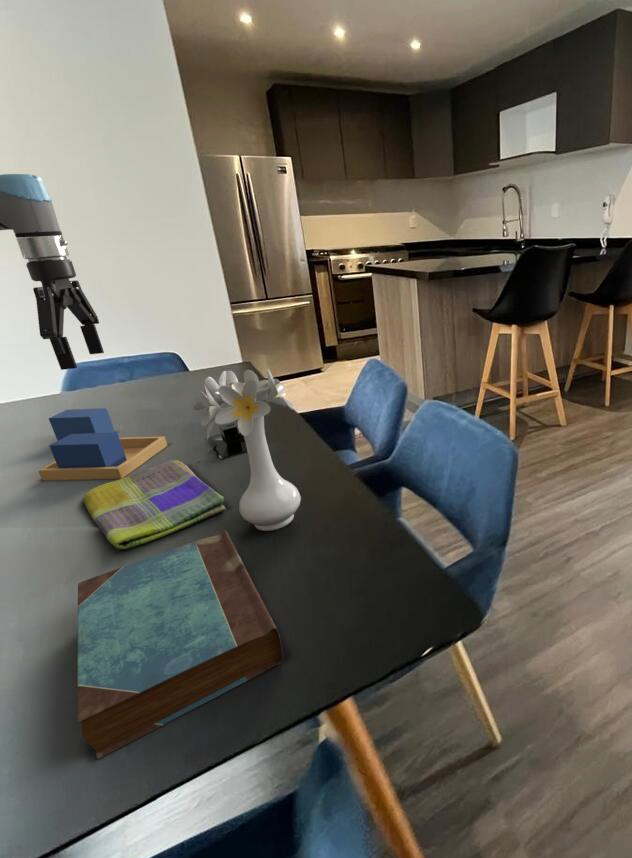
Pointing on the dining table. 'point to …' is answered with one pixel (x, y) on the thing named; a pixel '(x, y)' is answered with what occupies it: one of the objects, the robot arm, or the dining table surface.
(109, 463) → the pad
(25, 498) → the dining table surface
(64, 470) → the wooden tray
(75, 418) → the pad
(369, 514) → the dining table surface
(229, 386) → the flower vase
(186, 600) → the book
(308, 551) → the dining table surface
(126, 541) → the dish towel
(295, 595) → the dining table surface
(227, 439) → the black box
